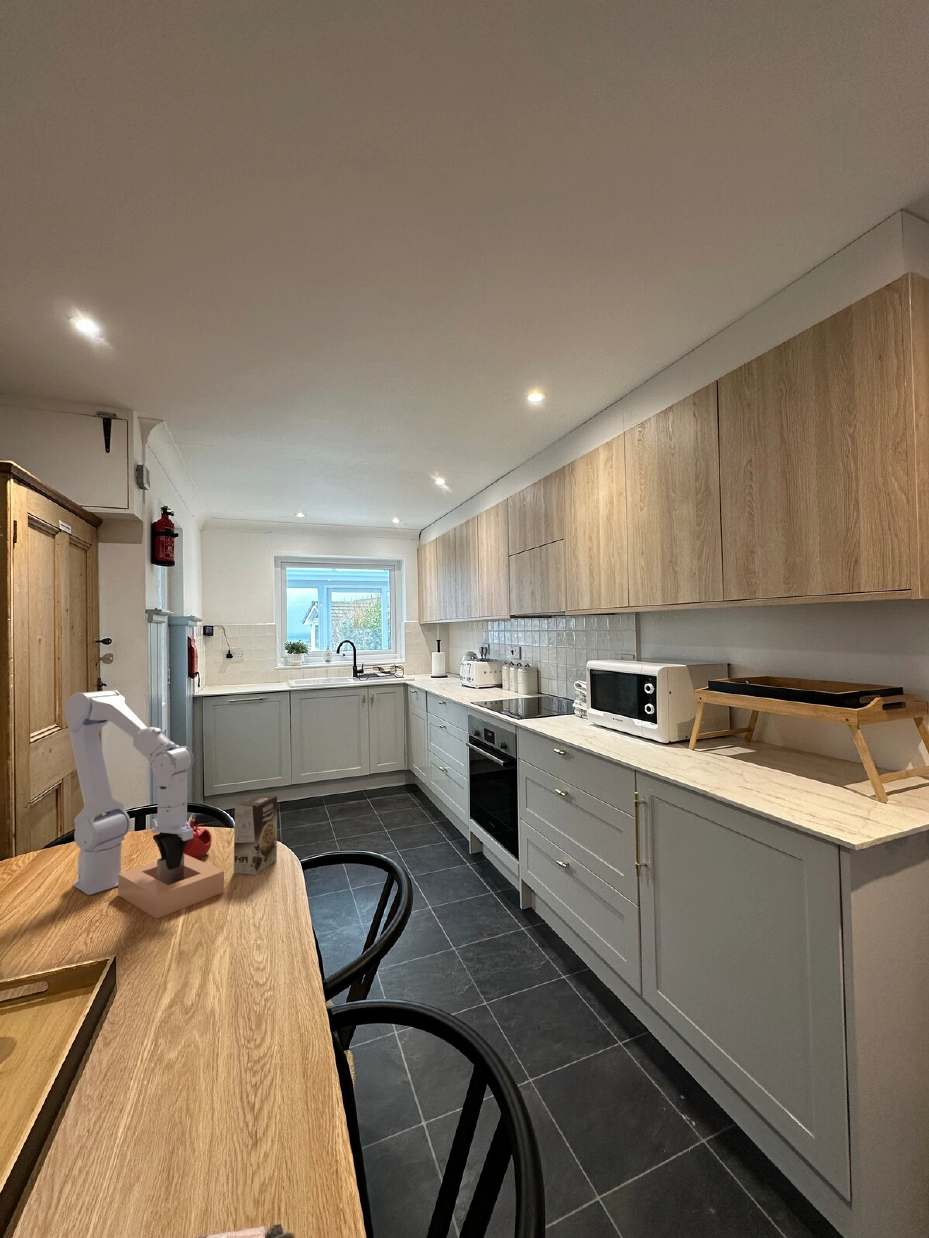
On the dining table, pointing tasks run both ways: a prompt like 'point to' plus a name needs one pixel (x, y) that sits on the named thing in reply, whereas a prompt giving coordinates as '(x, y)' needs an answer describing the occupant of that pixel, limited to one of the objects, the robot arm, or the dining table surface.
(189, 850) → the red tomato holder
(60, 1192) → the dining table surface
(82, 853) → the robot arm
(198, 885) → the holder block
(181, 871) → the brushed metal prism
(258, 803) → the coffee box
